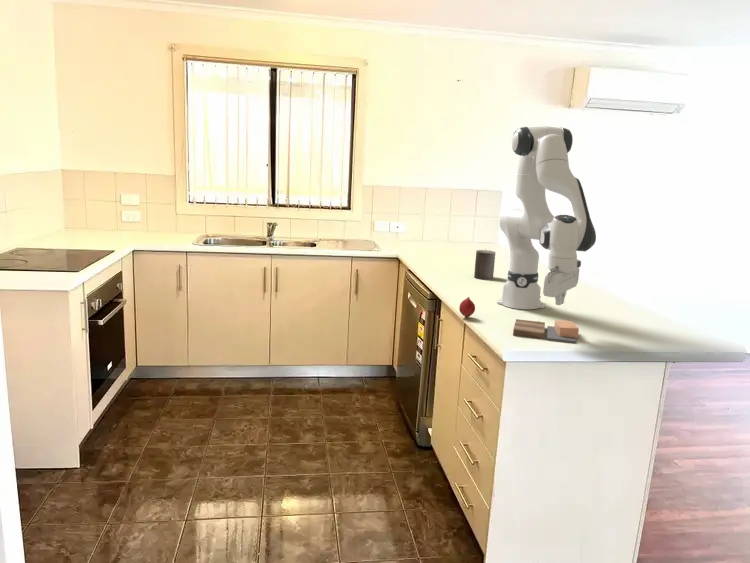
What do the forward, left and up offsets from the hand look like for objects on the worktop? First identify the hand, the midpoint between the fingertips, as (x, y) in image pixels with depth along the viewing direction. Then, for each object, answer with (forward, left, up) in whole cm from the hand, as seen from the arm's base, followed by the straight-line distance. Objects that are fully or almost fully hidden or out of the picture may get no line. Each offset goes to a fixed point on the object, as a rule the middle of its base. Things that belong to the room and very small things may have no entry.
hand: (559, 304), depth 191 cm
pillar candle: (-89, -35, -11) cm, 96 cm away
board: (+1, -9, -11) cm, 14 cm away
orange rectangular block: (0, +3, -10) cm, 10 cm away
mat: (+2, +1, -11) cm, 11 cm away
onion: (-8, -32, -11) cm, 35 cm away
